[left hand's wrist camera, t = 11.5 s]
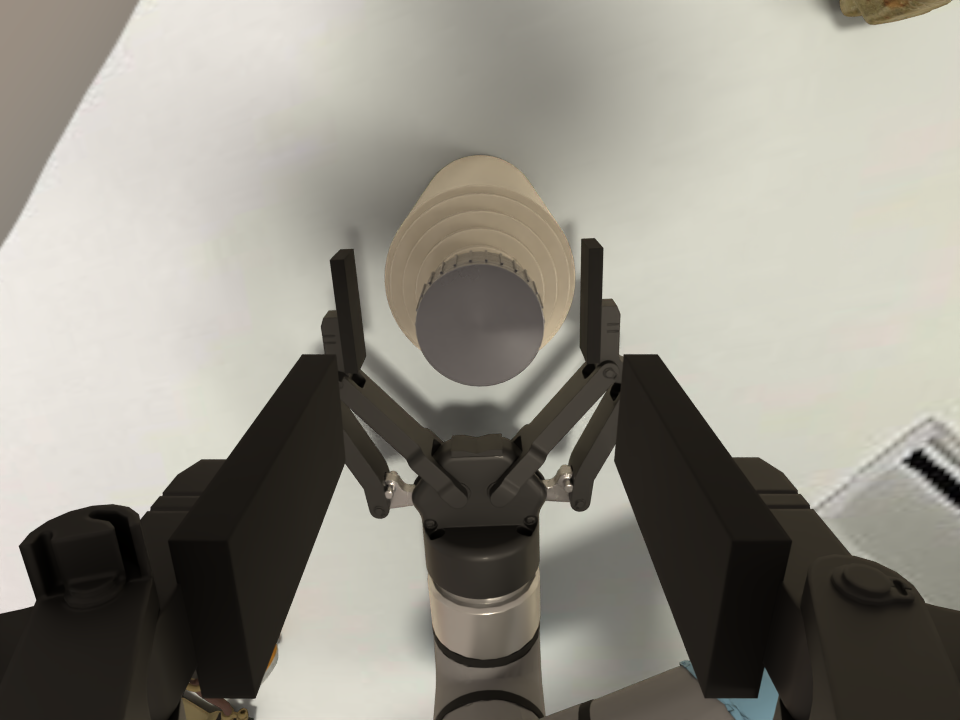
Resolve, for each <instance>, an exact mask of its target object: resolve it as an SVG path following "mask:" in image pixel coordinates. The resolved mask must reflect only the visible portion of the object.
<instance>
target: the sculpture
mask: <svg viewBox="0 0 960 720" xmlns="http://www.w3.org/2000/svg"><path fill="white" fill-rule="evenodd" d="M951 1H952V0H840V1H839V3H840V8H841V11H842V13H843V14H844V15H845V16H847V17H856V16H863V18H864V20H865V21H866V22H867V23H868V24H870V25H877V24H883V23H889V22H895V21H900V20H903V19H907V18H911V17H915V16H918V15H922V14H925V13H928V12H930V11H931V10H933V9H936V8H939V7H941V6H944V5H946V4H948V3H950V2H951Z"/></svg>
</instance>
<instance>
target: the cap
mask: <svg viewBox="0 0 960 720" xmlns="http://www.w3.org/2000/svg"><path fill="white" fill-rule="evenodd" d="M543 308H544V307H543V304H542V300H541V297H540V294H538V290H537V287H536V284H535V282H534V281H532V280H531V278H530V277H529V275H528V273H527V270H526V269H525V270H523V269H522V268H521V267H520V266H519V265H518V264H517V263H516V261H515V260H513V261H512V260H510V259H508V258H507V257H505V256H502V254H501V253H500V254H496V253H491V252H487V250H485V252H482V251H479V252H472V250H471V251H470V252H469V253H464V254H461V255H457V254H456V255H455V257H453V258H451V259H449V260H448V261H446V262H444V261H443V262H442V264H441V266H440V267H439V268H437V270H436V271H435V272H433V271H432V273H431V276H430V278H429V280H428V282H427V284H424V286H423V289H422V292H421V295H420V298H419V301H418V304H417V307H416V311H417V315H416V322H415V327H416V336H417V340H418V344H419V346H420V349H421V351H422V353H423V355H424V356H425V358H426V359H427V361H428V362H429V363H430V364H431V365H432V366H433V367H434V369H436V370H437V371H438V372H439V373H440V374H442V375H443V376H445V377H447V378H448V379H451V380H453V381H455V382H458V383H461V384H464V385H470V386H490V385H496V384H499V383H503V382H505V381H507V380H510V379H511V378H513V377H515V376H517V375H518V374H519V373H521V372H522V371H523V370H524V369H525V368H526V367H527V366H528V365H529V364H530V363H531V362H532V361H533V359H534V358H535V356H536V354H537V353H538V351H539V349H540V346H541V344H542V340H543V336H544V323H545V319H544V315H543V310H542V309H543Z"/></svg>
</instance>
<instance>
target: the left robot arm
mask: <svg viewBox="0 0 960 720" xmlns="http://www.w3.org/2000/svg"><path fill="white" fill-rule="evenodd" d="M345 462H346V458H345V447H344V435H343V424H342V413H341V402H340V391H339V379H338V368H337V357H336V354H302V356H301V357H300V358H299V360H298V361H297V362H296V364H295V365H294V367H293V368H292V369H291V371H290V372H289V374H288V375H287V376H286V378H285V379H284V380H283V382H282V383H281V385H280V386H279V387H278V389H277V390H276V392H275V393H274V394H273V396H272V397H271V398H270V400H269V401H268V403H267V404H266V405H265V407H264V408H263V410H262V411H261V412H260V414H259V415H258V416H257V418H256V419H255V421H254V422H253V423H252V425H251V426H250V428H249V429H248V430H247V432H246V433H245V434H244V436H243V437H242V439H241V440H240V441H239V443H238V444H237V446H236V447H235V448H234V450H233V451H232V452H231V454H230V455H229V457H228V458H227V459H201V460H200V461H198V462H197V463H195V464H194V465H192V466H190V467H189V468H187V469H186V470H184V471H183V472H181V473H179V474H178V475H177V476H176V477H175V478H174V480H173V481H172V482H171V483H170V484H169V486H168V487H167V488H166V489H165V491H164V492H163V496H160V497H159V498H158V499H157V500H156V501H155V503H154V504H153V505H152V506H151V510H150V511H147V512H146V514H145V515H144V516H143V517H142V518H141V520H140V517H139V514H138V513H136V512H135V511H134V510H132V509H131V508H130V507H125V506H120V505H114V504H110V505H96V506H90V507H86V508H82V509H78V510H74V511H70V512H68V513H65V514H63V515H61V516H58V517H56V518H54V519H51V520H49V521H47V522H46V523H44V524H43V525H41V526H40V527H38V528H37V529H35V530H34V531H32V532H31V533H30V534H29V535H28V536H27V537H26V538H25V539H24V541H23V542H22V543H21V544H20V545H19V548H20V551H21V555H22V558H23V561H24V564H25V567H26V570H27V573H28V576H29V579H30V582H31V585H32V588H33V591H34V594H35V598H36V602H35V605H34V606H32V607H29V608H25V609H21V610H16V611H11V612H7V613H2V614H0V720H186V714H185V708H184V704H183V700H182V696H183V694H184V692H185V690H186V688H187V686H188V684H189V682H190V680H191V678H192V676H193V674H194V672H195V670H196V672H197V677H198V681H199V686H200V690H201V695H202V698H256V696H257V693H258V690H259V688H260V685H261V682H262V680H263V677H264V675H265V672H266V669H267V667H268V664H269V661H270V659H271V656H272V654H273V651H274V648H275V646H276V643H277V640H278V638H279V635H280V632H281V630H282V627H283V625H284V622H285V619H286V617H287V614H288V611H289V609H290V606H291V604H292V601H293V598H294V596H295V593H296V590H297V588H298V585H299V583H300V580H301V577H302V575H303V572H304V569H305V567H306V564H307V562H308V559H309V556H310V554H311V551H312V548H313V546H314V543H315V541H316V538H317V535H318V533H319V530H320V527H321V525H322V522H323V520H324V517H325V514H326V512H327V509H328V506H329V504H330V501H331V499H332V496H333V493H334V491H335V488H336V485H337V483H338V480H339V477H340V475H341V472H342V470H343V467H344V464H345ZM614 462H615V464H616V467H617V470H618V472H619V475H620V477H621V480H622V483H623V485H624V488H625V491H626V493H627V496H628V499H629V501H630V504H631V506H632V509H633V512H634V514H635V517H636V520H637V522H638V525H639V527H640V530H641V533H642V535H643V538H644V541H645V543H646V546H647V548H648V551H649V554H650V556H651V559H652V562H653V564H654V567H655V569H656V572H657V575H658V577H659V580H660V583H661V585H662V588H663V590H664V593H665V596H666V598H667V601H668V604H669V606H670V609H671V611H672V614H673V617H674V619H675V622H676V625H677V627H678V630H679V632H680V635H681V638H682V640H683V643H684V646H685V648H686V651H687V654H688V656H689V659H690V661H691V664H692V667H693V669H694V672H695V675H696V677H697V680H698V682H699V685H700V688H701V690H702V693H703V696H704V698H758V695H759V690H760V686H761V681H762V677H763V672H764V668H765V669H766V671H767V673H768V675H769V677H770V679H771V681H772V682H773V684H774V686H775V688H776V690H777V692H778V694H779V696H778V700H777V704H776V708H775V713H774V717H773V720H960V611H957V610H952V609H948V608H943V607H938V606H934V605H931V604H927V603H925V601H924V599H923V598H922V596H921V595H920V594H919V592H918V591H917V590H916V588H915V587H914V585H912V584H911V583H910V582H909V581H907V580H906V579H905V578H903V577H902V576H901V575H899V574H898V573H897V572H895V571H893V570H891V569H889V568H887V567H885V566H883V565H881V564H879V563H877V562H874V561H870V560H867V559H863V558H860V557H857V556H852V555H851V554H850V553H849V552H848V550H847V549H846V548H845V547H844V546H843V544H842V543H841V542H840V541H839V540H838V538H837V537H836V536H835V535H834V534H833V532H832V531H831V530H830V529H829V528H828V526H827V525H826V524H825V523H824V522H823V520H822V519H821V518H820V517H819V515H818V514H817V513H816V512H815V511H814V509H810V505H809V503H808V502H807V501H806V500H805V499H804V497H803V496H802V495H801V494H798V490H797V489H796V488H795V487H794V485H793V484H792V483H791V482H790V481H789V479H788V478H787V477H786V476H785V475H784V473H783V472H781V471H779V470H778V469H776V468H775V467H773V466H772V465H770V464H768V463H767V462H765V461H764V460H762V459H760V458H759V457H731V455H730V454H729V452H728V451H727V450H726V448H725V447H724V446H723V444H722V443H721V441H720V440H719V439H718V437H717V436H716V434H715V433H714V432H713V430H712V429H711V428H710V426H709V425H708V423H707V422H706V421H705V419H704V418H703V416H702V415H701V414H700V412H699V411H698V410H697V408H696V407H695V405H694V404H693V403H692V401H691V400H690V398H689V397H688V396H687V394H686V393H685V392H684V390H683V389H682V387H681V386H680V385H679V383H678V382H677V380H676V379H675V378H674V376H673V375H672V374H671V372H670V371H669V369H668V368H667V367H666V365H665V364H664V362H663V361H662V360H661V358H660V357H659V356H658V354H624V357H623V368H622V379H621V391H620V402H619V413H618V424H617V435H616V447H615V458H614Z"/></svg>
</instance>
